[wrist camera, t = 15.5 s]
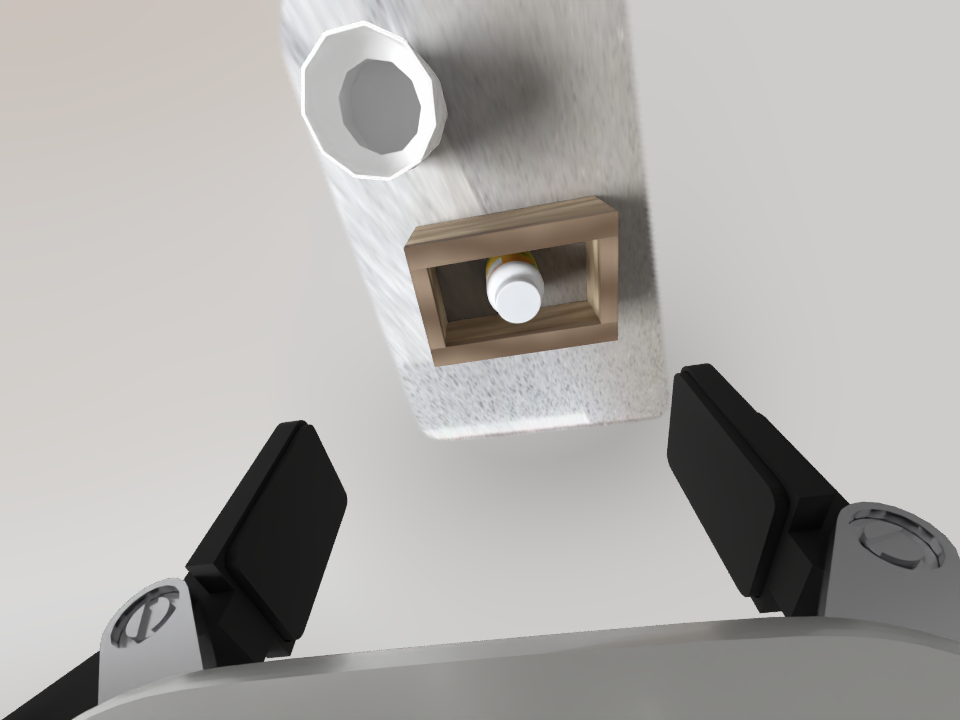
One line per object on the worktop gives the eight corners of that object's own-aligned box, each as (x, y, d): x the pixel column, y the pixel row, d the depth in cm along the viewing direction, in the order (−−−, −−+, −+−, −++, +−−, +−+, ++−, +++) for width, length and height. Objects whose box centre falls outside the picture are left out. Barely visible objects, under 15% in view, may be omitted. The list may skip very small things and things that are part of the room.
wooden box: (415, 227, 41) (403, 248, 34) (594, 195, 40) (618, 211, 33) (441, 331, 47) (434, 367, 40) (596, 307, 46) (617, 340, 39)
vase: (345, 45, 34) (287, 11, 23) (450, 55, 34) (438, 26, 24) (353, 161, 38) (308, 176, 28) (446, 169, 38) (435, 187, 28)
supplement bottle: (545, 261, 43) (562, 295, 35) (515, 300, 45) (523, 341, 37) (505, 232, 41) (513, 260, 33) (475, 273, 44) (475, 310, 35)
